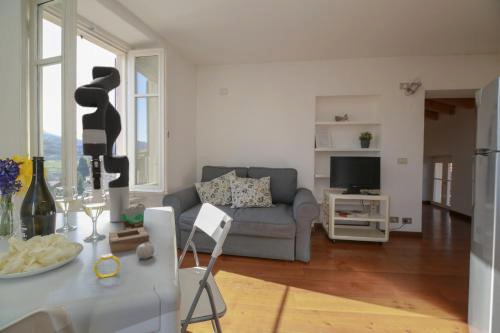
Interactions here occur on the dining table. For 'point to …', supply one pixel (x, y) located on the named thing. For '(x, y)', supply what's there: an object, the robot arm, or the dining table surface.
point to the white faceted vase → (96, 192)
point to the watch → (106, 257)
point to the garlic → (145, 250)
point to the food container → (133, 217)
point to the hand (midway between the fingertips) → (97, 188)
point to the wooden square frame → (127, 239)
